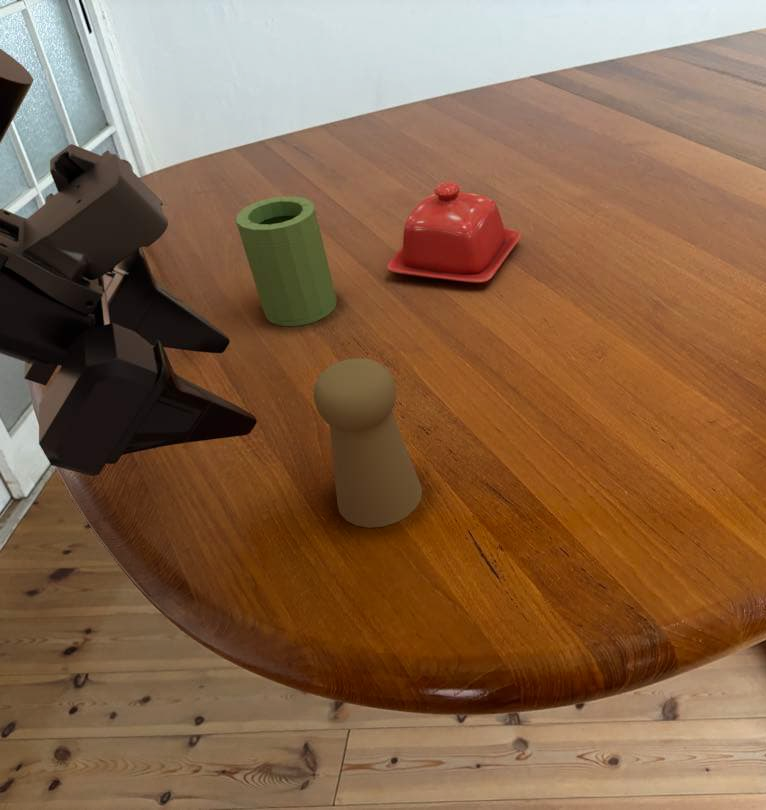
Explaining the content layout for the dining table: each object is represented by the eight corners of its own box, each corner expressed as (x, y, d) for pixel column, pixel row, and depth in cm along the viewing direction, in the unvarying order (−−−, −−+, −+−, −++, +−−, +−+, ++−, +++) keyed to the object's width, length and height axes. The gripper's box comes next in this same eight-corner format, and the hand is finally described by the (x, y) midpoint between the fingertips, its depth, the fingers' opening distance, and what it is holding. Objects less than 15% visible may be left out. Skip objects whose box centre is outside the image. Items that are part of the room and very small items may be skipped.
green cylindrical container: (265, 332, 77) (235, 234, 71) (264, 296, 82) (236, 203, 76) (339, 318, 78) (316, 221, 72) (334, 284, 83) (311, 191, 77)
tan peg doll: (437, 480, 60) (416, 355, 53) (392, 537, 55) (362, 410, 49) (369, 459, 62) (339, 337, 55) (320, 513, 58) (281, 388, 51)
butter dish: (488, 294, 80) (479, 213, 75) (382, 281, 83) (367, 203, 78) (526, 241, 89) (521, 165, 83) (429, 231, 92) (418, 157, 87)
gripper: (5, 193, 30) (355, 353, 40) (18, 71, 44) (277, 214, 54) (-122, 426, 32) (239, 522, 43) (-73, 242, 46) (192, 348, 56)
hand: (238, 383), depth 49 cm, fingers open, 9 cm apart
